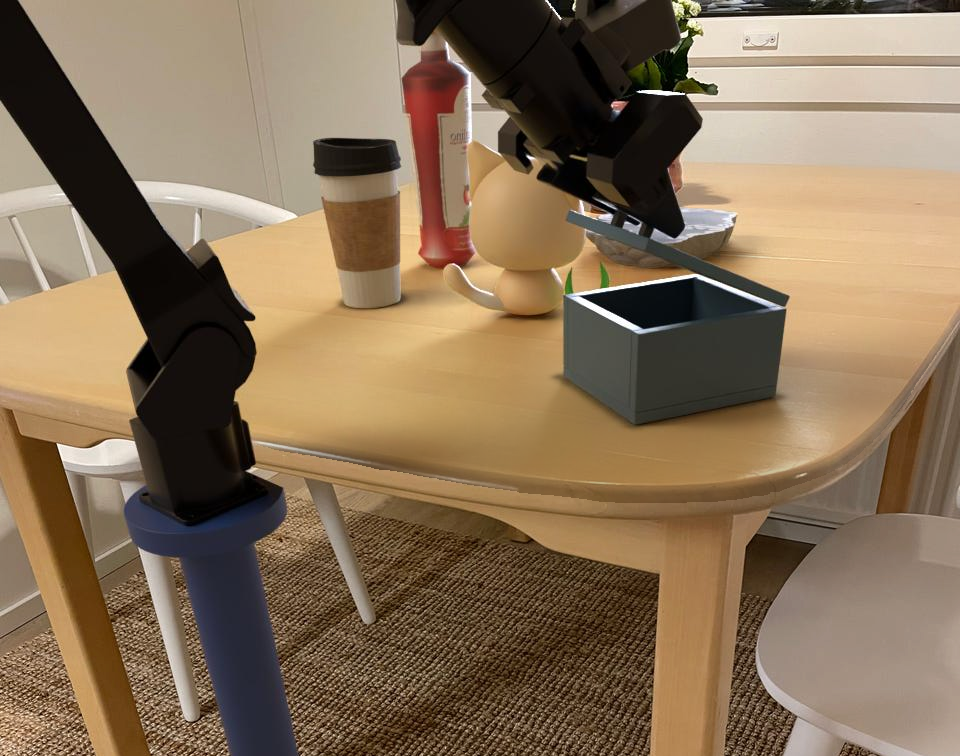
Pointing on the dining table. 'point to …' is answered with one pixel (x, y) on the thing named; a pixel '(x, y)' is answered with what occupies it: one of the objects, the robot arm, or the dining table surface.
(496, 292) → the beige cat figurine
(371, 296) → the coffee cup
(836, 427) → the dining table surface
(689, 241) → the grey flat stone slab
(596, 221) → the lid
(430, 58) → the liquor
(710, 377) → the cooler
